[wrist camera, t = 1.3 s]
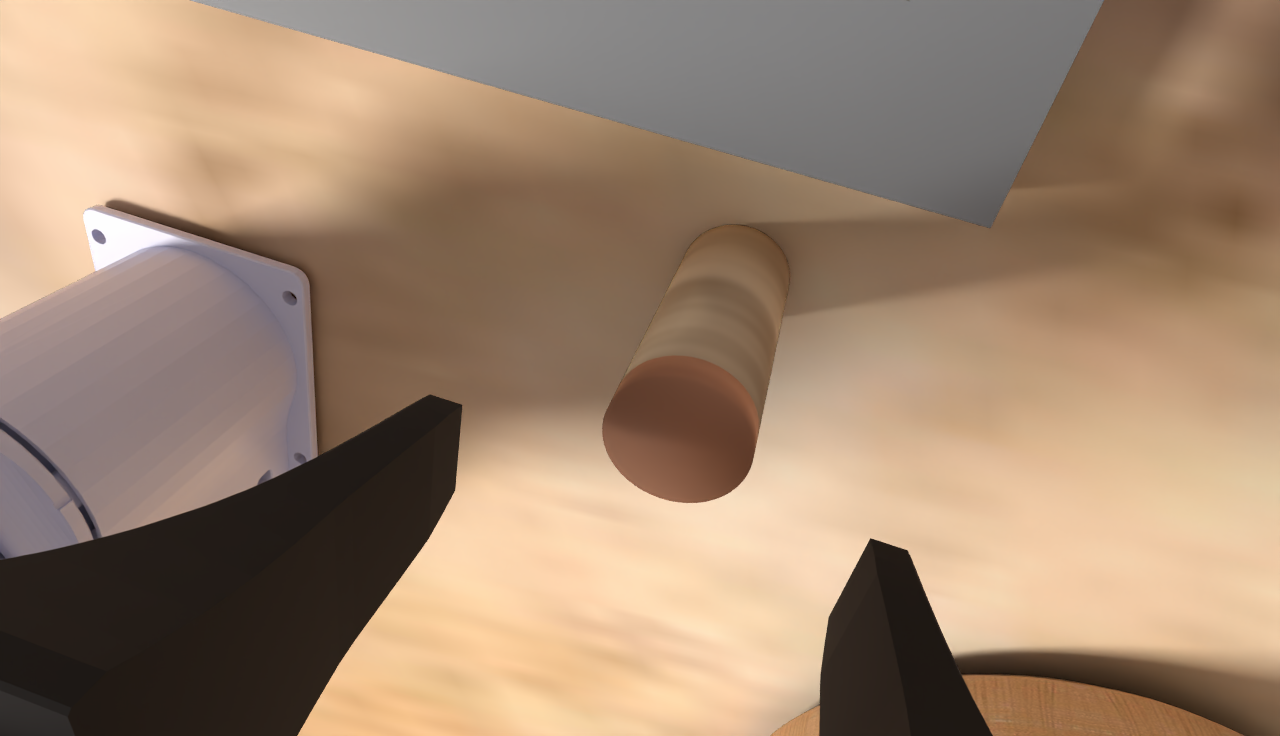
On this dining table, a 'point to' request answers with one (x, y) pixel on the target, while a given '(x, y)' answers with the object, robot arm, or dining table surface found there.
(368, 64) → the dining table surface
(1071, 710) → the planter
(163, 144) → the dining table surface
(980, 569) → the dining table surface
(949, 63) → the socket board
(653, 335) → the plug
